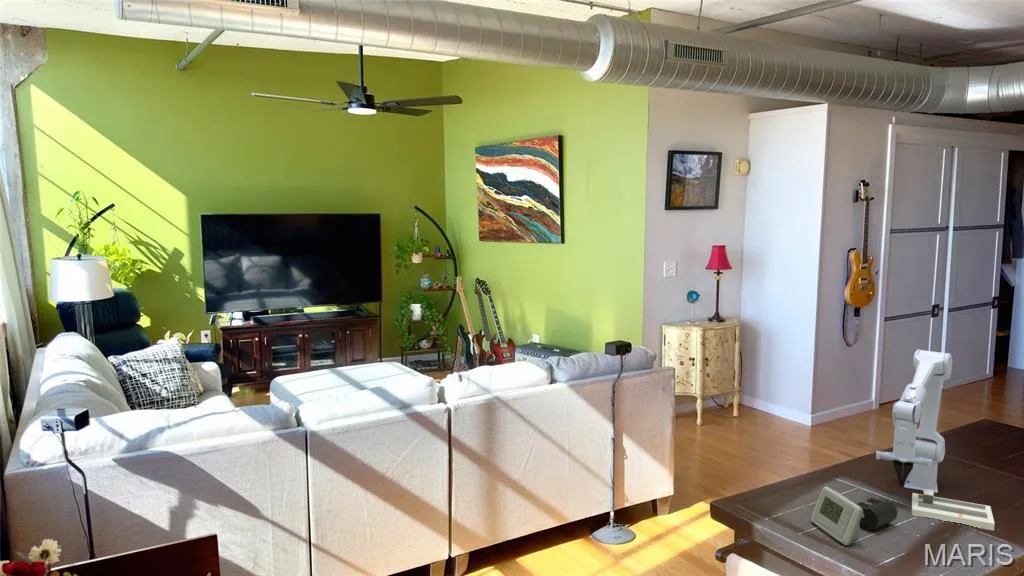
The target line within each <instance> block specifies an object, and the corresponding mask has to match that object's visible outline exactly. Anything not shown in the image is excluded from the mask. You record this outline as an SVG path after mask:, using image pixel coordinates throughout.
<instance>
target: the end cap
mask: <svg viewBox="0 0 1024 576" xmlns="http://www.w3.org/2000/svg"><path fill="white" fill-rule="evenodd" d="M866 502H868V503H870V504H868V503H866ZM866 502H863V501H860V502H857V503H856V504H857V505H858V506H860V507H861V508H862V509H863V514H862V515H864V516H862V517H861V519H860V522H859V525H860V528H861V529H863V530H865V531H872V530H875V529H878V528H880V527H882V526H885V525H887V524H889V523H892V522H894V521H895V520H897V517H898V509H897V506H896V505H895V504H894V503H893V502H892V501H891V500H888V499H886V500H884V501H883V500H879V499H876V498H873V497H871V498H867V499H866Z"/></svg>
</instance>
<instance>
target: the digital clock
mask: <svg viewBox="0 0 1024 576" xmlns="http://www.w3.org/2000/svg"><path fill="white" fill-rule="evenodd" d="M817 499H818V500H817V502H816V504H815V507H814V509H813V512H812V514H811V516H810V519H811V522H812V523H813V524H814V525H816V526H817V527H818V528H819V529H820V530H822V531H823V532H824V533H826V534H827V535H828V536H830V537H831V538H832V539H834V540H835V541H836V542H840V543H841V544H842V545H844V546H851V543H852V541H858V540H859V539H860V531H861V530H860V525H859V522H860V519H861V517H863V515H864V514H863V509H862V508H861V507H860V506H858V505H857V503H855V501H853V500H851V499H850V498H848V497H846V496H844V495H843V494H842V493H840V492H838V491H837V490H834V489H832V488H830V487H829V486H824V487H823V488H822V489H821V491H820V494H819V497H818V498H817Z"/></svg>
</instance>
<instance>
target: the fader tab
mask: <svg viewBox="0 0 1024 576" xmlns="http://www.w3.org/2000/svg"><path fill="white" fill-rule="evenodd" d="M934 494H935V493H934V492H933V490H928V489H924V491H923V494H922V495H923V503H926V504H931V505H933V496H934ZM934 497H935V496H934Z"/></svg>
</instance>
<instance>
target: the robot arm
mask: <svg viewBox="0 0 1024 576" xmlns="http://www.w3.org/2000/svg"><path fill="white" fill-rule="evenodd" d="M912 362H913V367H914V370H915V373H914V376H913V378H912V382H911V383H908V384H907V385H906V386H905V389H904V391H903V393H902V395H901V396H900V399H899V400H898V401H895V402H894V404H893V407H892V413H891V414H892V418H893V420H892V424H893V426H894V433H893V447H892V449H893V450H892V452H891V451H881V450H880V451H879V450H876V452H875V454H876V456H875V459H876V460H884V461H892V466H893V468H894V471H895V472H896V476H897V480H898V487H900V488H905V489H910V490H917V491H921V492H922V491H923V492H924V489H928V490H933V494H938V493H939V490H938V488H939V487H938V483H937V479H938V464H939V463H941V462H942V461H943V460H944V458H945V453H946V447H945V445H946V439H945V438H944V437H943V436H942V435H941V434H940V433H939V431H937V426H938V421H939V420H938V418H939V412H940V405H941V398H942V390H943V385H944V382H945V381H946V380H949V379H950V378H951V375H952V368H953V362H954V361H953V356H952V355H951V353H950V352H939V351H933V350H931V351H930V350H923V349H919V348H918V349H917V350H916V351H915V352H914V354H913V359H912ZM918 423H919V427H918ZM917 427H918V428H917Z"/></svg>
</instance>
